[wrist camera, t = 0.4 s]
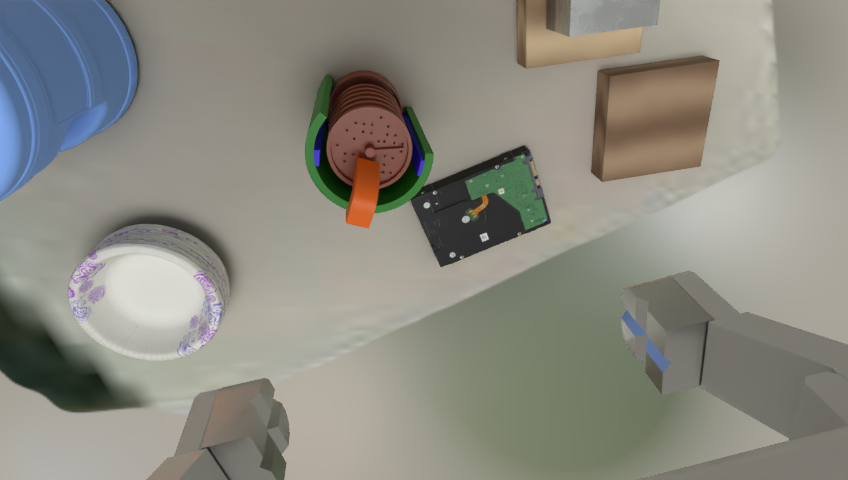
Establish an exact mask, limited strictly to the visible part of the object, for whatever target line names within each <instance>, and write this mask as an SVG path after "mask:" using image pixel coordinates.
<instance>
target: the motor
mask: <svg viewBox="0 0 848 480" xmlns="http://www.w3.org/2000/svg"><path fill="white" fill-rule="evenodd" d="M331 85H332V78H331V77H330V76H329V75H328V74H327V75H326V77H325V78H324V79H323V81H322V83H321V85H320V87H319V90H318V93H317V97H316V102H315V106H314V110H313V114H312V118H311V122H310V126H309V130H308V134H307V138H306V144H305V159H306V164H307V168H308V171H309V174H310V176H311V178H312V180H313V182H314V184H315V185H316V187H317V188H318V189H319V190H320V192H321V193H322V194H323V195H324V196H325V197H327V198H328V199H329V200H330V201H332V202H333V203H335V204H336V205H338V206H340V207H342V208H345V209H347V210H346V223H348V224H352V225H356V226H361V227H365V228H369V226H370V223H371V220H372V218H373V215H374V213H380V212H385V211H389V210H392V209H395V208H397V207H399V206H401V205H403V204H404V203H406V202H407V201H409V200H410V199H411V198H413V197H414V196H415V195H416V194H417V193H418V192H419V190H420V189H421V188H422V187H423V185H424V184H425V182H426V180H427V178H428V176H429V174H430V171H431V167H432V163H433V152H432V149H431V147H430V145H429V143H428V141H427V139H426V137H425V135H424V132H423V130H422V128H421V126H420V124H419V122H418V120H417V117H416V115H415V113H414V111H413V109H412V107H406V112H405V113H402V105H401V102H400V99H399V96H398V94H397V92H396V90H395V88H394V87H393V85H392V84H391V83H390V82H389V81H388V80H387V79H386V78H384V77H383V76H381V75H379V74H377V73H374V72H370V71H357V72H353V73H350V74H348V75H346V76H344V77H343V78H341V79H340V80H339V81H338V82H337V83H336V84H335V86H334V87H333V89H332V91H331ZM330 92H331V93H330ZM327 115H328V120H329V127H328V126H327V124H326V118H327Z"/></svg>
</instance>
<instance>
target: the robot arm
mask: <svg viewBox="0 0 848 480" xmlns="http://www.w3.org/2000/svg"><path fill="white" fill-rule="evenodd" d="M621 303H622V304H623V306H624V307H625V308H626V309H627V310H626V312H625V313H624V315H623V316H622V318H621V325H622V332H623V336H624V339H625V342H626V344H627V346H628V348H629V350H630V351H631V353H632V354H633V355H634V357H635V358H636V359H639V360H641V361H643V362H645V363H646V366H645V372H646V374H647V375H648V377H649V378H650V379H651V381H652V382H653V383H654V385H655V386H656V388H657V389H658V390H659V392H660V393H661V394H662V395H664V394H668V393H672V392H677V391H681V390H686V389H690V388H695V387H699V386H701V388H702V389H703V390H705V391H707V392H709V393H711V394H712V395H714V396H716V397H718V398H719V399H721V400H723V401H725V402H726V403H728V404H730V405H731V406H733V407H735V408H737V409H738V410H740V411H742V412H744V413H746V414H747V415H749V416H751V417H752V418H754V419H756V420H758V421H760V422H761V423H763V424H765V425H767V426H768V427H770V428H772V429H774V430H775V431H777V432H779V433H781V434H783V435H784V436H786V437H788V438H789V441H786V442H782V443H778V444H774V445H770V446H766V447H762V448H759V449H755V450H751V451H747V452H743V453H739V454H735V455H731V456H727V457H723V458H720V459H715V460H712V461H707V462H704V463H700V464H696V465H692V466H688V467H684V468H680V469H676V470H672V471H669V472H664V473H661V474H657V475H653V476H649V477H645V478H641V479H637V480H848V345H847V344H844V343H841V342H838V341H835V340H832V339H829V338H825V337H823V336H819V335H816V334H813V333H810V332H807V331H804V330H801V329H797V328H795V327H792V326H788V325H785V324H782V323H779V322H776V321H773V320H770V319H767V318H764V317H761V316H758V315H755V314H751V313H748V312H746V313H741V314H740V313H739V312H738V311H737V310H736V309H734V308H733V307H732V306H731V305H730V304H729V303H728V302H727V301H726V300H724V299H723V298H722V297H721V296H720V295H719V294H717V292H715V291H714V290H713V289H712V288H711V287H710V286H709V285H708V284H706V283H705V282H704V281H703V280H702V279H701V278H700V277H699V276H697V275H696V274H695V273H694V272H691V271H686V272H682V273H678V274H675V275H671V276H667V277H666V278H661V279H657V280H653V281H649V282H645V283H642V284H638V285H634V286H630V287H626V288H623V291H622V293H621ZM274 390H275V389H274V388H273V386H272V384H271V382H270V381H269V379H266V378H263V379H259V380H254V381H250V382H245V383H241V384H236V385H232V386H228V387H223V388H221V389H216V390H212V391H208V392H203V393H199V394H198V395H197V396H196V397H195V399H194V401H193V404H192V407H191V410H190V413H189V416H188V418H187V422H186V424H185V427H184V430H183V433H182V436H181V438H180V441H179V444H178V447H177V450H176V453H175V455H174V457H170V458H167V459H166V460H165V461H164V462H163V463H162V464H161V465H160V466H159V467H158V469H156V471H154V472H153V474H152V475H151V476H150V477H149V478H148V479H147V480H284V477H285V469H286V462H285V460H284V458H283V456H282V453H283V452H284V451H285V449H286V448H287V447H288V445H289V435H290V432H289V422H288V418H287V414H286V411H285V409H284V407H283V405H282V403H280V402H278V401H276V400H274V399H273V397H274Z"/></svg>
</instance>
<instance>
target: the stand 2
mask: <svg viewBox="0 0 848 480" xmlns="http://www.w3.org/2000/svg"><path fill="white" fill-rule="evenodd" d="M718 66H719V60H716V59H712V58H708V57H705V56H697V57H690V58H683V59H676V60H669V61H662V62H655V63H649V64H642V65H635V66H628V67H621V68H614V69H607V70H600V71H598V78H597V93H596V109H595V124H594V139H593V155H592V170H591V172H592V173H593V174H594V175H595V176H596V177H597V178H599V179H600V180H601V181H602V182H604V181H610V180H617V179H623V178H629V177H636V176H642V175H648V174H655V173H661V172H667V171H674V170H680V169H686V168H693V167H699V166H700V165H701V160H702V154H703V149H704V143H705V138H706V132H707V127H708V121H709V116H710V110H711V105H712V99H713V94H714V88H715V83H716V77H717V72H718Z"/></svg>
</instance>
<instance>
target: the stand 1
mask: <svg viewBox="0 0 848 480" xmlns="http://www.w3.org/2000/svg"><path fill="white" fill-rule="evenodd" d="M546 3H547V0H517V43H518V64H520V65H522V66H523V67H525V68H533V67H540V66H547V65H554V64H561V63H568V62H575V61H582V60H589V59H596V58H603V57H610V56H617V55H624V54H632V53H639V52H640V48H641V39H642V29H643V27H638V28H630V29H623V30H616V31H609V32H602V33H594V34H587V35H580V36H573V37H568V36H566V35H563V34H560V33H557V32H554V31H551V30H548V29H546Z"/></svg>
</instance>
